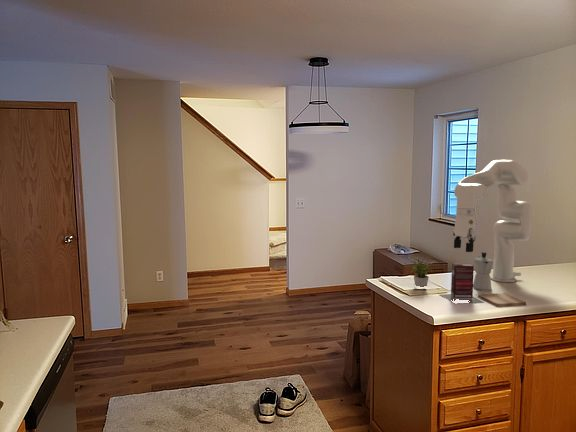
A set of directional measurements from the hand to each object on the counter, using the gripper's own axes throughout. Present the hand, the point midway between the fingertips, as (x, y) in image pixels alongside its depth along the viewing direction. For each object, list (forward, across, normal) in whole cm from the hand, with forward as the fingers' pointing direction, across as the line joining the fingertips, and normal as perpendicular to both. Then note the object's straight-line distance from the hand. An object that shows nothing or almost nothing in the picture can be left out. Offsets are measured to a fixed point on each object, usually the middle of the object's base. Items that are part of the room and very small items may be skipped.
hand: (463, 249), depth 197 cm
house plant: (+23, +20, +11) cm, 32 cm away
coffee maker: (+23, +16, -21) cm, 34 cm away
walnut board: (+23, -6, -17) cm, 29 cm away
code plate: (+23, 0, -1) cm, 23 cm away
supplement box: (+23, 0, -1) cm, 23 cm away
